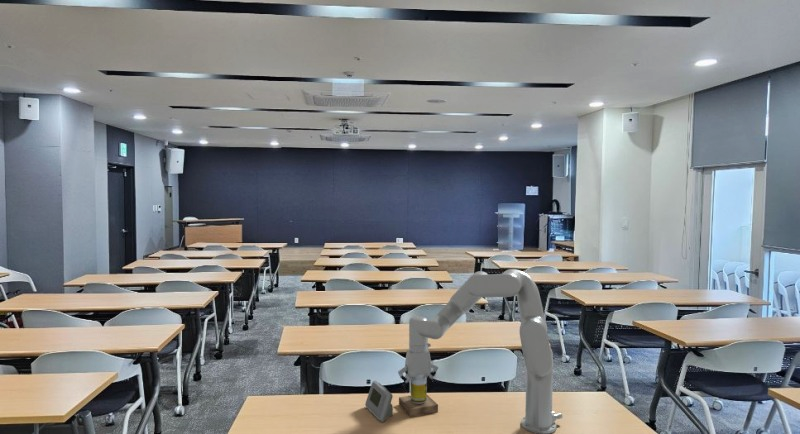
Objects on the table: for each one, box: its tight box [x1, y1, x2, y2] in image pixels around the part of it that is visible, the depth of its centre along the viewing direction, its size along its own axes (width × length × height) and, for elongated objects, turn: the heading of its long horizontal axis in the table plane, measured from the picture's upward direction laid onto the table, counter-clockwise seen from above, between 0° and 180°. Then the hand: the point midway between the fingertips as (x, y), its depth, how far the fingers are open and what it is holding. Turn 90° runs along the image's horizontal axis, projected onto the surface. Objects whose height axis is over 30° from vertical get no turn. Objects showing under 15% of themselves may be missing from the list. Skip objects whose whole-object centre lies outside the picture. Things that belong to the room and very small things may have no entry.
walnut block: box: [398, 394, 439, 418], centre depth 187 cm, size 12×12×3 cm
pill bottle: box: [410, 374, 428, 404], centre depth 187 cm, size 6×6×12 cm
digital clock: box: [364, 380, 394, 423], centre depth 182 cm, size 16×9×11 cm, turn 15°
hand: (418, 389), depth 187 cm, fingers open, 9 cm apart
